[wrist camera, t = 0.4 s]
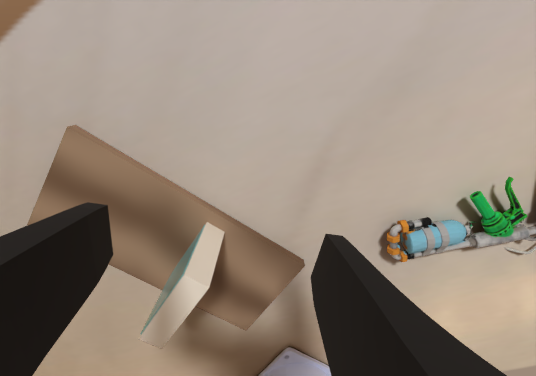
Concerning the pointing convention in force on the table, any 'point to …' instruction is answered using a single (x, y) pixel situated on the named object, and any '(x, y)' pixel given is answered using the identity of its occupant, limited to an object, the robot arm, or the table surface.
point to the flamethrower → (461, 231)
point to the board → (165, 227)
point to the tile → (184, 287)
